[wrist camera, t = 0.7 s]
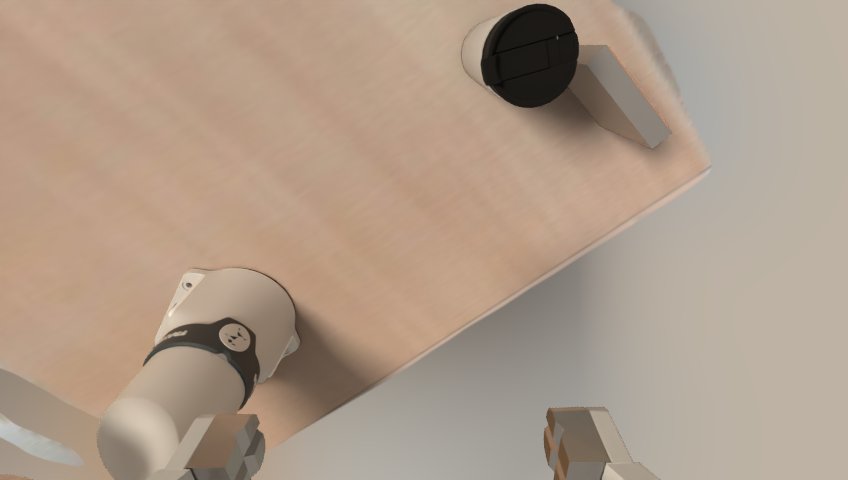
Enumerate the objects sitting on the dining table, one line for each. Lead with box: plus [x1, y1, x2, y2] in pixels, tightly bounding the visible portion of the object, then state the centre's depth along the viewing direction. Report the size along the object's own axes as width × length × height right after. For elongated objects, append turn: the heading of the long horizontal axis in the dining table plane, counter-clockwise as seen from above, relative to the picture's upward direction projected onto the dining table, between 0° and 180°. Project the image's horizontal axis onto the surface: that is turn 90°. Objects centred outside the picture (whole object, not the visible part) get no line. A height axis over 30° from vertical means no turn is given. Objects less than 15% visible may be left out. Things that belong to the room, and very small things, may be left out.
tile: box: [568, 45, 672, 149], centre depth 40 cm, size 2×10×12 cm, turn 46°
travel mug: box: [461, 4, 579, 108], centre depth 34 cm, size 6×7×20 cm
